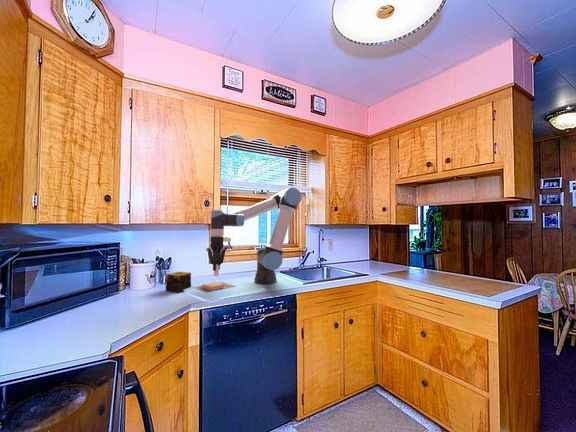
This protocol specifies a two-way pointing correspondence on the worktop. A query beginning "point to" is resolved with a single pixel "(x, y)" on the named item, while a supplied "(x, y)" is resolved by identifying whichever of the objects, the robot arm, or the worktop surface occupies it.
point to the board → (217, 289)
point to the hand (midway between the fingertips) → (216, 275)
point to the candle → (178, 281)
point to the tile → (213, 286)
